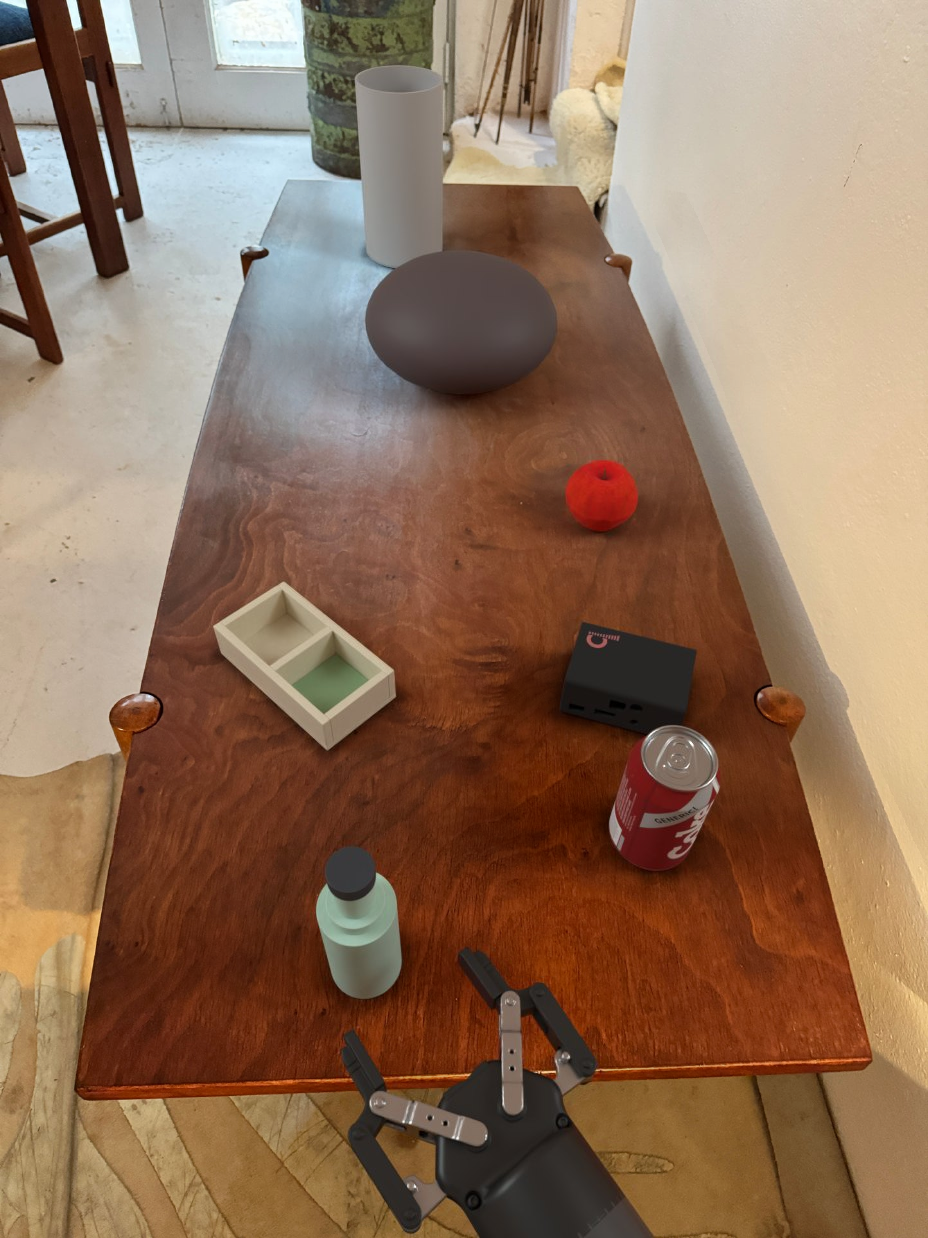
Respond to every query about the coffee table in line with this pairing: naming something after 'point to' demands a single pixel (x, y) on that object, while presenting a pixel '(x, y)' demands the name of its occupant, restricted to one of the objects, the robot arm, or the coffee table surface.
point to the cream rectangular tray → (306, 663)
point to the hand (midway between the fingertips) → (406, 993)
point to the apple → (601, 495)
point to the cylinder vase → (401, 161)
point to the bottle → (359, 924)
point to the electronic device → (627, 679)
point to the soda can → (664, 797)
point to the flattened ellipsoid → (461, 322)
